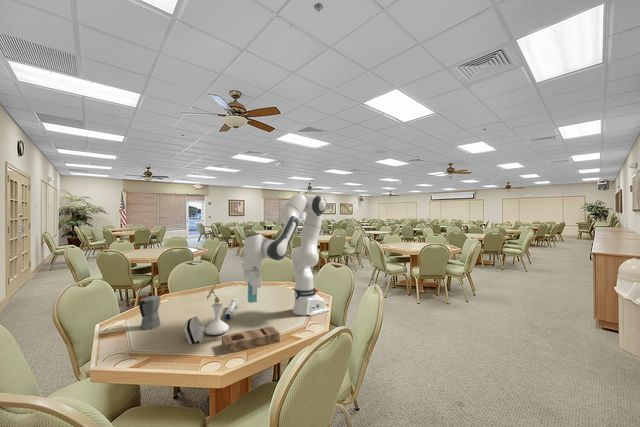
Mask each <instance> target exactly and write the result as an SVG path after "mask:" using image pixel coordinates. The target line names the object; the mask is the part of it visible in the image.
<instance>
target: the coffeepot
mask: <svg viewBox="0 0 640 427" xmlns="http://www.w3.org/2000/svg"><path fill="white" fill-rule="evenodd" d="M148 295H149V296H144V297H142V298H141V299H140V302H139V305H138V307H139V308H138V309H139V312H140V316H141V317H142V319H141V324H140V329H141V330H143V329H149V330H154V329H157V328H158V326H159V327H160V325H161V320H160V314H159V308H160V303H161V296H160V295H153V292H149V293H148ZM156 327H157V328H156ZM153 328H154V329H153Z"/></svg>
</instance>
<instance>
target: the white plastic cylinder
mask: <svg viewBox="0 0 640 427" xmlns="http://www.w3.org/2000/svg"><path fill="white" fill-rule="evenodd" d="M230 301H231V302H230V304H229V306H228V308H227V310H226V311H225V312H224V315H223V319H224V320H225V321H230V320H231V319H232V317H233V315H234V314H233V313H234V310H237V309H238V308H239V305H240V302H239V301H238V297H233V298H231V300H230Z"/></svg>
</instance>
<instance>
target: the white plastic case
mask: <svg viewBox="0 0 640 427" xmlns="http://www.w3.org/2000/svg"><path fill="white" fill-rule="evenodd" d="M205 329H206V327H205V326H204V325H202V324H201V321H200V319H199V317H198V316H193V317H191V318H189V319H187V320H186V322H185V324H184V330H183V331H184V334H185V336H186V340H187V342H188V344H189V345H192V344H193V343H196V342H199V343H200V344H202V341H203V338H204V335H205V333H206V332H205Z"/></svg>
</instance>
